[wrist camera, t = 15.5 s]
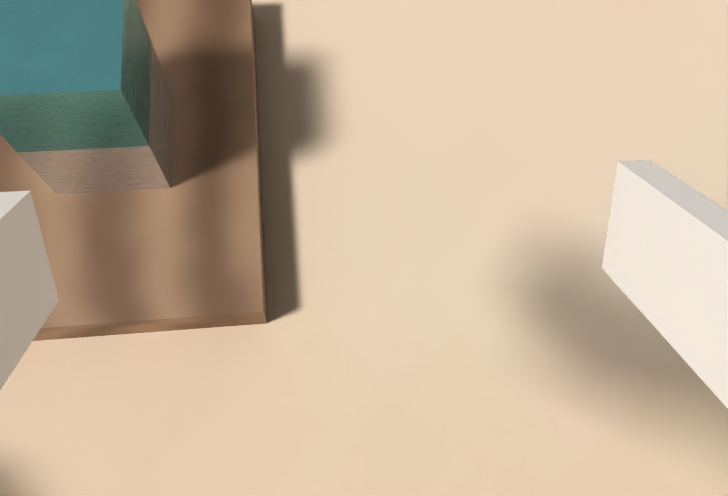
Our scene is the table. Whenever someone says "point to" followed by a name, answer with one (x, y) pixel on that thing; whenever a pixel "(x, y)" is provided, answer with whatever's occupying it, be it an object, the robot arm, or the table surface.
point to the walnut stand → (168, 197)
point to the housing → (84, 95)
